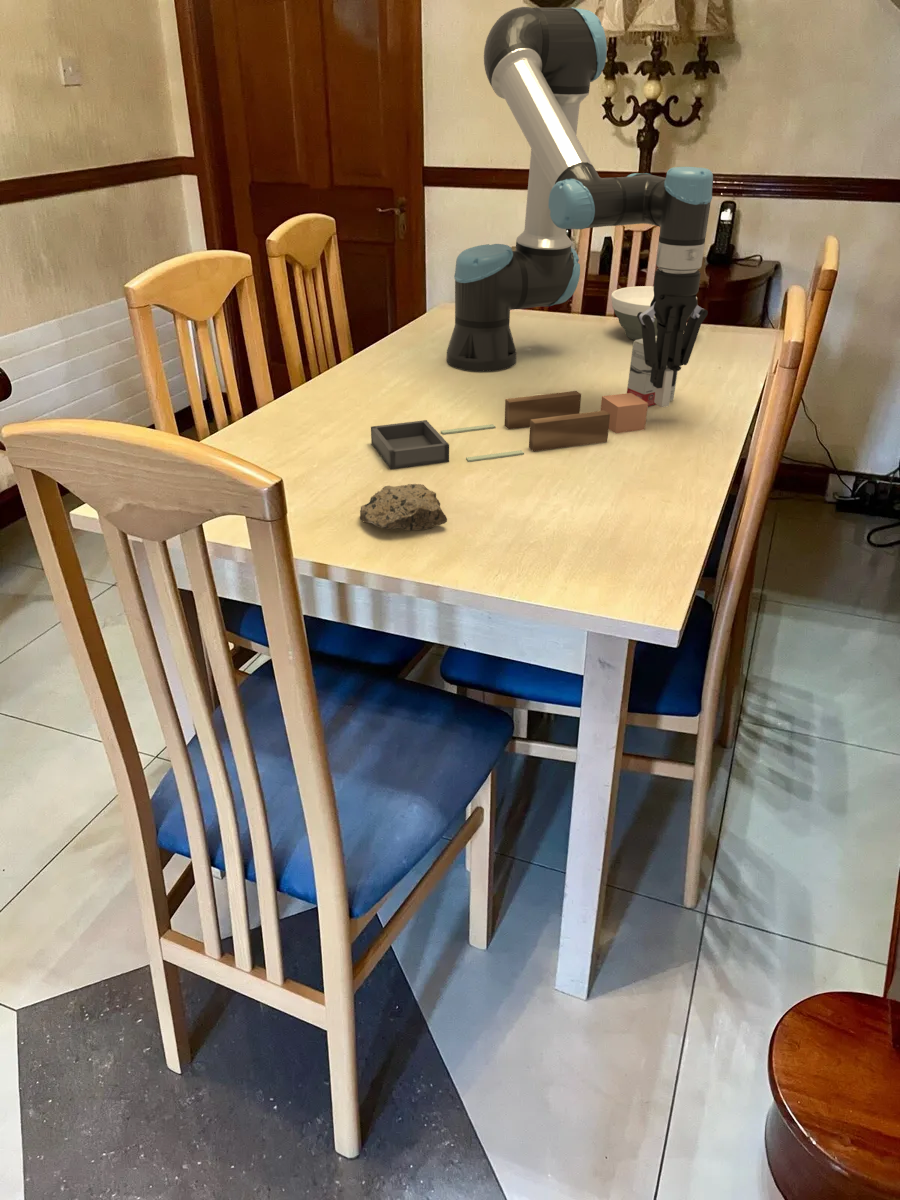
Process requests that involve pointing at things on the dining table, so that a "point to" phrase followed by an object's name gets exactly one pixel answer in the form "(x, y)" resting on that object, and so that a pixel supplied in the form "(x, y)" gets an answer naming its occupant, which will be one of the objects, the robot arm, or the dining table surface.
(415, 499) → the rock
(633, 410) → the rust block
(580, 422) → the channel
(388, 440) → the tray
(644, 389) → the ink box
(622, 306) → the bowl
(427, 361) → the dining table surface
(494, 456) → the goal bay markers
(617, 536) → the dining table surface
